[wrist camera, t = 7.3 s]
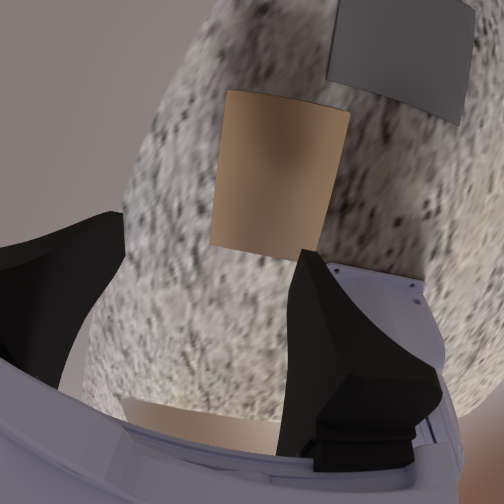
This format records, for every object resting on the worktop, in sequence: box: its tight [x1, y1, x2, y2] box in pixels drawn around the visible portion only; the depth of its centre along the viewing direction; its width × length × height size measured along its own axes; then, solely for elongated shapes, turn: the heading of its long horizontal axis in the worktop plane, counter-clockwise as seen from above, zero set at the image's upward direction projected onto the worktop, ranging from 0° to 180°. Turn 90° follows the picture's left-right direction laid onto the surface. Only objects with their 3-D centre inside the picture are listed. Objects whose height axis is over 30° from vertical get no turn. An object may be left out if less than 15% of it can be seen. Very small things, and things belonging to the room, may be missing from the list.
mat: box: [326, 0, 475, 126], centre depth 13 cm, size 10×10×1 cm
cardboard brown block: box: [210, 90, 351, 262], centre depth 15 cm, size 6×8×4 cm
